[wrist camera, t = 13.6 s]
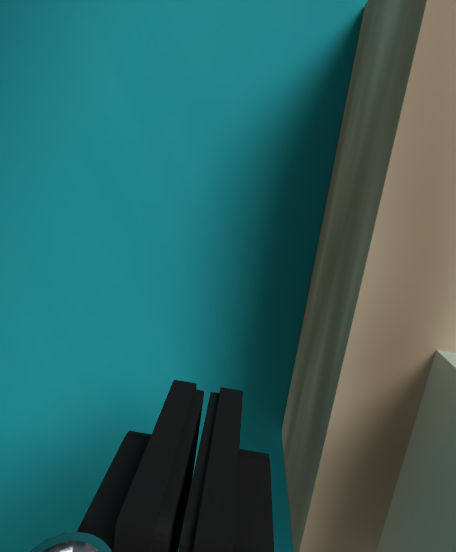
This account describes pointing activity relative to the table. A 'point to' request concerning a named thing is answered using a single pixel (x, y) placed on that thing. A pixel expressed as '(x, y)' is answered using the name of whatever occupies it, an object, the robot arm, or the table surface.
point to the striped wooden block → (376, 280)
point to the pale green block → (428, 471)
